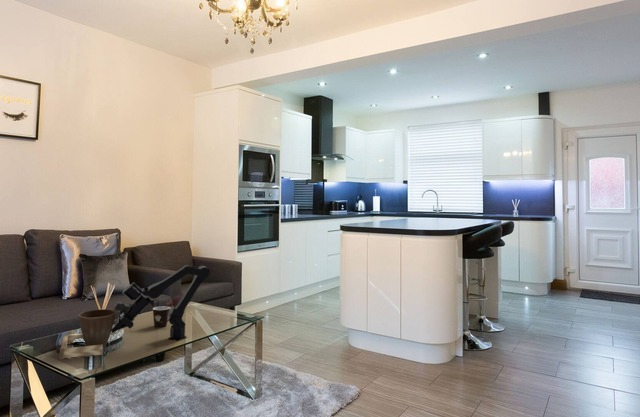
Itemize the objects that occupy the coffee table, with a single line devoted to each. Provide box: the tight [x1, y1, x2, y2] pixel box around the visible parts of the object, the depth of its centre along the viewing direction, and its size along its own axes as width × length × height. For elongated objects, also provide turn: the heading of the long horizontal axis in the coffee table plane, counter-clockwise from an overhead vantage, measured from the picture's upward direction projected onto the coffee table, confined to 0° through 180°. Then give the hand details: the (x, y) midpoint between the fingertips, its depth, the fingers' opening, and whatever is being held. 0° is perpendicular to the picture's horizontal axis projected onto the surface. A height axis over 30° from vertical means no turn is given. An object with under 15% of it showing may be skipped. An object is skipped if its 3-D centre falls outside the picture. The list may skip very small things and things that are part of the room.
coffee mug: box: [152, 305, 170, 329], centre depth 223 cm, size 12×9×10 cm
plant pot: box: [78, 308, 116, 349], centre depth 187 cm, size 15×15×16 cm
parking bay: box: [59, 333, 104, 360], centre depth 185 cm, size 16×22×4 cm
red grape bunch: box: [166, 294, 184, 308], centre depth 260 cm, size 18×10×10 cm, turn 154°
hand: (111, 331), depth 190 cm, fingers closed
